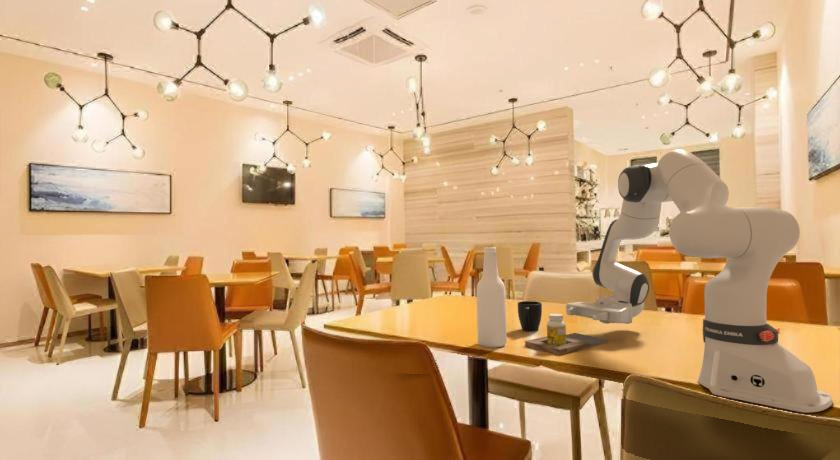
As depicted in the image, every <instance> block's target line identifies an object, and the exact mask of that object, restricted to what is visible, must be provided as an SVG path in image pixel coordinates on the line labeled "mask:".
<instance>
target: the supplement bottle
mask: <svg viewBox="0 0 840 460" xmlns="http://www.w3.org/2000/svg"><path fill="white" fill-rule="evenodd" d="M563 315H564V314H561V313H549V315H548V319H549V321H547V323H546V336H547V343H548V344H552V345H556V346H560V345H565V344H566V335H567V331H566V329H567V328H566V326H567V325H566V323H565V321H564V316H563Z"/></svg>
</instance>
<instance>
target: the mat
mask: <svg viewBox="0 0 840 460" xmlns="http://www.w3.org/2000/svg"><path fill="white" fill-rule="evenodd" d="M566 338H570V339H575V340H579V341H584V342H589V348H590V347H595V346H598V345H602V344H606V343H607V344H608V342H609V339H607V338H602V337H598V336H597V337H596V336H592V335H587V334H582V333H578V332H573V333H569V334H566Z"/></svg>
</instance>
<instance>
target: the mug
mask: <svg viewBox="0 0 840 460" xmlns="http://www.w3.org/2000/svg"><path fill="white" fill-rule="evenodd" d="M542 306H543V305H542V302H540V301H535V300H523V301H518V302H517V314H518V320H519V324H520V326H521V330H522V331H524V332H531V333H532V332H538V331H539V329H540V324H541V321H542V315H543V313H542V312H543V307H542Z"/></svg>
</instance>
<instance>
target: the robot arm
mask: <svg viewBox="0 0 840 460" xmlns="http://www.w3.org/2000/svg"><path fill="white" fill-rule="evenodd" d="M617 188H618V193H619V195H620V197H621V198H622V204H621V210H620V214H619V216H618V218H616V219H614V220H613V221H612V222H610V224H609V225H608V228H607V230H606V233H605V235H604V239H603V242H602V246H601V249H600V251H599V256H598V257H597V258H598V259H597V260H596V263H595V265H594V267H593V269H592V278H593V281H594V284H596V285H597V286H600V287H602V288H604V289H607V290H609V291H610V292H611V291H612V292H614V294H611V295H605V296H604V295H603V296H600V297H598V298H597V299H595V301H593V303H592V302H591V303H590V302H585V301H584V302H583V301H575V302H567V303H566V305H565V312H566V315H568V316H570V317H571V316H577V317H580V318H581V317H582V318H587V319H592V320H594V321H598V322H600V323H602V324H604V325H605V324H606V325H607V324H626V325H628V324H632V323H633V318H635V317H636V316H638V315H640V314H641V313H642V312H643V311H644V307H645V300H646V299H647V297H648V294H649V291H650V284H649V280H648V277H647V276H646V274H645V273H642V272H640V271H638V270H636V269H633V268H631V267H629V266H626V265H623V264H622V263H619V262H618V261H617V259H616V257H617V253H618V251H619V248H620V245H621V242H622V241H623V240H629V241H630V240H631V241H632V240H633V241H634V240H641V239H645V238H648V237H649V236H651V235H652V234H653V233H655V231H656V230H657V228H658V225H659V222H660V217H661V211H662V203H665V202H666V203H667V202H673V203H674V205H675V206H676V208H677V209H678V210H679V212H680V213H678V214H677V215H676V216H675V218H673V220H672V222H671V224H670V226H669V227H670V228H669V239H670V241H671V242H670V243H671V244H672V246H673V247H674V249H675V250H676V251H677V252H678V253H679V254H681V255H684V256H687V257H688V256H689V257H694V258H700V259H726V262H725V265H724V267H723V268H722V270H721V271H720V272H719V273H718V274H716V275H715V276H713V277H711V278H710V279H709V280H707V282H706V284H705V286H704V288H703V289H704V318H703V319H702V338H703V339H702V340H703V343H704V350H703V359H702V364H701V369H700V372H699V375H698V379H697V381H698V383H699V384H700V385H701V386H703V387H705V388H707V389H709V391H710V393H712V394H713V395H715V396H719V397H724V398H729V399H734V400H741V401H744V402H749V403H753V404H760V405H764V406H769V407H774V408H777V409H784V410H789V411H794V412H797V413H808V414H809V413H817V412H821V411H825V410H826V409H829V408H830V407H831V406H832V404H833V398H832V396H831V394H830V393H828V392H826V391H824V390H819V389H818V386H817V381H816V377H815V374H814V372H813V369H812V368H811V367H810V366H809V364H807V363H806V362H804V361H803V360H801V359H800V358H799V357H797V356H796V355H795V354H793V353H792V352H790V350H788V349H787V348H785V347H784V346H783V345H781V344H780V343H779V334H781V332H780V331H781V328H780V327H778V328H775V327H773V326H772V325H770V324H769V323H768V322H767V302H768V301H767V295H768V288H769V287H768V286H769V283H770V280H771V276H772V275H773V272H774V270H775V268H776V266H777V265H778V263H779V262H780V260H781V259H782V258H783V257H784V256H785V255H787V254H788V253H789V252H790V251H792V250H793V249H794V248H795V247H796V245H797V243H798V242H799V239H800V235H801V234H800V231H801V230H800V225H799V223H798V220H797V219H796V217H795V216H794V215H793V214H792V213H790V212H789V211H787V210H782V209H777V208H771V207H765V206H750V207H749V206H744V207H740V206H739V207H733V206H727V205H726V204H727V203H728V201H729V194H730V193H729V191H730V190H729V188H728V185H727V183H725V181H723V180H722V178H721V177H720V176H718V174H717V173H716V172H715V171H714V170H713V169H712V168H711V167H710V166H709V165H708V164H707V163H706V162H705V161H703V160H702V159H700V157H698V156H697V155H695V154H693V153H692V152H690V151H687V150H686V149H685V150H684V149H673V150H671V151H668V152H667V153H665V154H664V155H662V156H661V157H660V159H659V160H658V162H653V163H647V164H641V165H640V164H636V165H635V164H634V165H630V166H627V167H625V168H624V169H623V170H622V171H620V174H619V176H618V180H617Z"/></svg>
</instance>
